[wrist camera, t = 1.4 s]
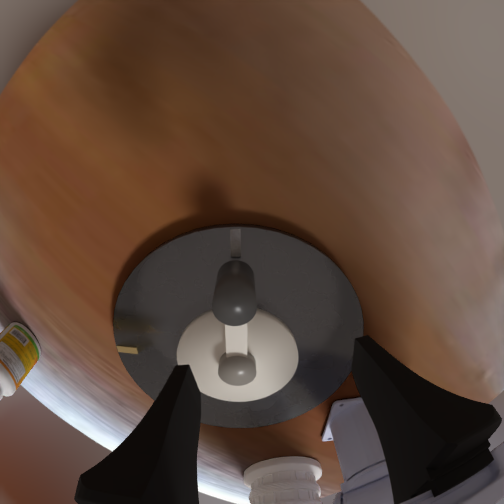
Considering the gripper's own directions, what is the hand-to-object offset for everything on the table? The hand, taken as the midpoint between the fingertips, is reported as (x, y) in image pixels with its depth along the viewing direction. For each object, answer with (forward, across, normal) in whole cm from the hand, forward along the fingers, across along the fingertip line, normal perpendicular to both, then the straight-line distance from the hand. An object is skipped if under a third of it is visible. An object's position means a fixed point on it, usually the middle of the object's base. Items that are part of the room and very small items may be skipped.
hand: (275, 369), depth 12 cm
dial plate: (+10, +3, +8) cm, 13 cm away
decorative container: (+9, 0, +34) cm, 36 cm away
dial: (+10, +2, +6) cm, 11 cm away
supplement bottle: (+12, +28, +6) cm, 31 cm away
